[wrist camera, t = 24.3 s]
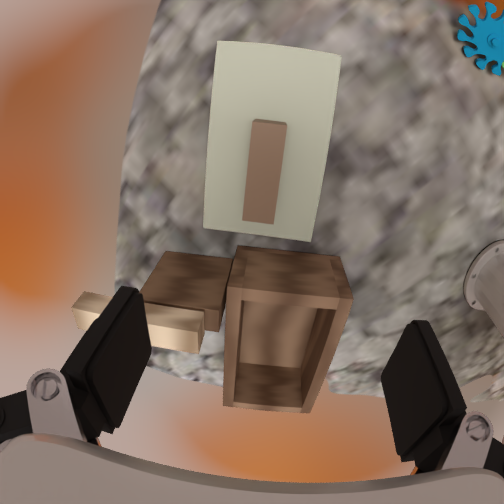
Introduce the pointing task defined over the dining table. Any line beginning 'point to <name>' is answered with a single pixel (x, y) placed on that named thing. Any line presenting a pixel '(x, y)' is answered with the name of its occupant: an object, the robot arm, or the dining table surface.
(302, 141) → the lid
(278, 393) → the brown wooden box
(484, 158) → the dining table surface
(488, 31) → the blue spiky virus toy
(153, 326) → the bar
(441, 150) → the dining table surface
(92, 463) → the robot arm
